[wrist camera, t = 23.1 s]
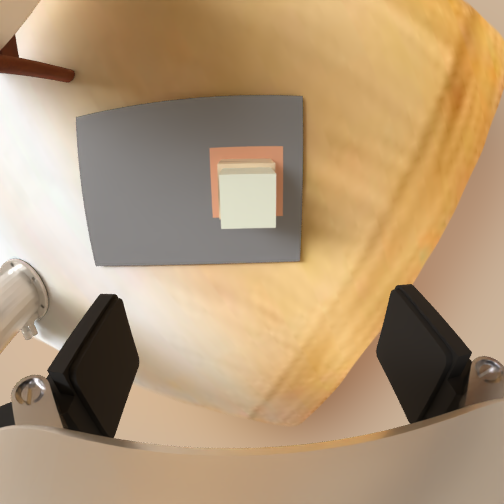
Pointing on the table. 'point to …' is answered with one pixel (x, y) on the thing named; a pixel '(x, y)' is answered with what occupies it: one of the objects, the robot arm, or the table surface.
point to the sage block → (247, 198)
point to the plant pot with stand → (5, 48)
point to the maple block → (242, 164)
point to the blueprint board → (187, 179)
